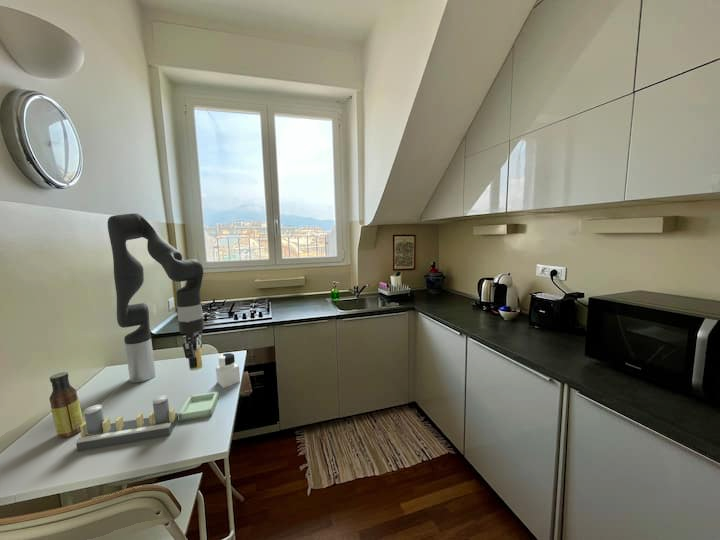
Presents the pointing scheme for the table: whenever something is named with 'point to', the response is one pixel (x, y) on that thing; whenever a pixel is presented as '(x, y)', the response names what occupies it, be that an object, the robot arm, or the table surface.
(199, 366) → the cylinder
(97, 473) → the table surface
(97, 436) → the fuse block
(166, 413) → the cylinder
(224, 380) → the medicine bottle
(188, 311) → the robot arm
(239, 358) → the table surface
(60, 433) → the sauce bottle
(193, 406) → the tray
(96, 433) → the dome-capped grey cylinder
